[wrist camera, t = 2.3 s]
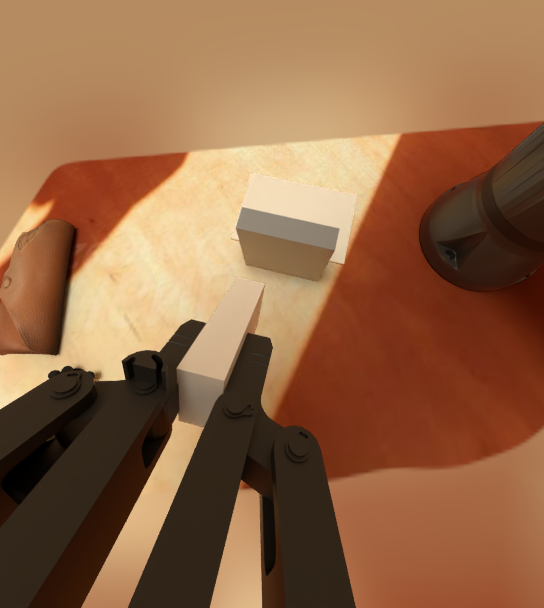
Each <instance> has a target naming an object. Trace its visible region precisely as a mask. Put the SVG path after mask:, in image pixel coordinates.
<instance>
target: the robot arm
mask: <svg viewBox="0 0 544 608" xmlns="http://www.w3.org/2000/svg"><path fill="white" fill-rule="evenodd" d="M420 243H421V247H422V250H423V252H424V254H425V256H426V258H427V260H428V261H429V263H430V264H431V266H432V267H433V268H434V269H435V270H436V271H437V272H438V273H439V274H440V275H441V276H442V277H444V278H445V279H446V280H448V281H449V282H451V283H453V284H455V285H457V286H459V287H462V288H465V289H468V290H473V291H494V290H498V289H502V288H505V287H508V286H511V285H514V284H517V283H519V282H521V281H523V280H525V279H526V278H528V277H529V276H531V275H532V274H533V273H534V272H535V271H536V270H537V269H538V268H539V267H541V266H542V265H544V123H543V124H542V125H541V126H539V127H538V128H537V129H536V130H535V131H534V132H533V133H531V134H530V135H529V136H528V137H527V138H526V139H525V140H523V141H522V142H521V143H520V144H519V145H518V146H517V147H515V148H514V149H513V150H512V151H511V152H510V153H509V154H507V155H506V156H505V157H504V158H503V159H502V160H501V161H499V162H498V163H497V164H496V165H495V166H494V167H492V168H491V169H490V170H488V171H486V172H484V173H482V174H480V175H478V176H476V177H474V178H473V179H471V180H470V181H468V182H465V183H462V184H459V185H457V186H455V187H452V188H451V189H449V190H447V191H446V192H445V193H443V194H442V195H441V196H440V197H439V198H438V199H437V200H436V201H434V202H433V203H432V204H431V205H430V206H429V208H428V209H427V210H426V212H425V214H424V215H423V218H422V220H421V224H420ZM264 287H265V283H262V282H258V281H254V280H249V279H245V278H241V277H237V278H236V279H235V281H234V282H233V284H232V285H231V287H230V288H229V290H228V291H227V293H226V294H225V296H224V297H223V299H222V301H221V302H220V304H219V305H218V307H217V308H216V310H215V311H214V313H213V314H212V316H211V317H210V319H209V320H208V322H207V323H204V322H200V321H196V320H192V319H191V320H189V321H188V322H186V323H184V324H182V325H181V326H180V327H179V329H178V330H177V331H176V332H175V334H174V335H173V336H172V337H171V339H170V340H169V342H167V344H166V345H165V346H164V347H163V349H162V350H161V351H160V352H157V351H150V350H146V351H139V352H136V353H134V354H131V355H129V356H128V357H126V358H125V359H124V360H122V364H123V369H124V374H125V379H126V380H120V381H94V378H93V376H92V375H91V374H90V373H88V372H85V371H82V370H73V371H68V372H64V373H60V374H58V375H56V376H54V377H52V378H50V379H49V380H47V381H45V382H44V383H42V384H40V385H39V386H37V387H36V388H34V389H32V390H31V391H29V392H28V393H26V394H24V395H23V396H21V397H20V398H18V399H16V400H15V401H13V402H12V403H10V404H8V405H7V406H5V407H3V408H2V409H0V608H81V607H82V605H83V603H84V601H85V599H86V597H87V595H88V593H89V591H90V589H91V588H92V585H93V584H94V582H95V580H96V578H97V576H98V574H99V572H100V570H101V568H102V566H103V565H104V563H105V561H106V559H107V557H108V555H109V553H110V551H111V549H112V547H113V545H114V544H115V542H116V540H117V538H118V536H119V534H120V532H121V530H122V528H123V526H124V524H125V522H126V521H127V519H128V517H129V515H130V513H131V511H132V509H133V507H134V505H135V503H136V501H137V500H138V498H139V496H140V494H141V492H142V490H143V488H144V486H145V484H146V482H147V480H148V478H149V477H150V475H151V473H152V471H153V469H154V467H155V465H156V463H157V461H158V459H159V457H160V455H161V454H162V452H163V450H164V448H165V446H166V444H167V442H168V440H169V438H170V436H171V433H172V423H173V421H174V420H175V418H176V416H177V414H178V415H179V421H182V422H186V423H189V424H193V425H197V426H201V427H204V429H203V431H202V434H201V436H200V439H199V441H198V443H197V446H196V448H195V450H194V453H193V455H192V457H191V460H190V462H189V465H188V467H187V469H186V472H185V474H184V476H183V479H182V481H181V483H180V486H179V488H178V490H177V493H176V495H175V498H174V500H173V502H172V505H171V507H170V510H169V512H168V514H167V517H166V519H165V521H164V524H163V526H162V528H161V531H160V533H159V535H158V538H157V540H156V543H155V545H154V547H153V550H152V552H151V554H150V557H149V559H148V562H147V564H146V566H145V569H144V571H143V573H142V576H141V578H140V580H139V583H138V585H137V587H136V590H135V592H134V594H133V597H132V599H131V602H130V604H129V606H128V608H210V604H211V600H212V595H213V591H214V587H215V583H216V579H217V575H218V571H219V567H220V563H221V558H222V555H223V550H224V546H225V542H226V538H227V534H228V530H229V526H230V522H231V517H232V514H233V510H234V505H235V501H236V497H237V493H238V489H239V485H240V481H241V480H243V481H244V482H245V483H246V484H248V485H249V486H250V487H252V488H253V489H254V490H256V491H257V492H258V493H259V494H260V530H261V571H262V608H356V606H355V602H354V597H353V593H352V589H351V584H350V579H349V576H348V571H347V566H346V562H345V557H344V553H343V548H342V544H341V540H340V535H339V531H338V526H337V521H336V517H335V512H334V508H333V503H332V499H331V494H330V490H329V485H328V481H327V476H326V472H325V467H324V463H323V459H322V454H321V450H320V447H319V444H318V442H317V440H316V438H315V437H314V436H313V435H312V434H311V433H310V432H309V431H307V430H306V429H304V428H303V427H298V426H289V427H285V428H283V427H282V426H280V425H279V424H277V423H275V422H274V421H273V420H271V419H270V418H269V417H268V416H267V415H266V413H265V412H264V410H263V408H262V405H261V394H262V390H263V386H264V382H265V378H266V374H267V369H268V365H269V361H270V357H271V353H272V349H273V346H272V343H271V340H270V338H267V337H263V336H259V335H255V334H254V333H255V330H256V327H257V325H258V319H259V314H260V308H261V303H262V298H263V292H264Z"/></svg>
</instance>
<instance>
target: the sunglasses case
mask: <svg viewBox="0 0 544 608" xmlns="http://www.w3.org/2000/svg"><path fill="white" fill-rule="evenodd" d="M73 234H74V226H73V225H71V224H70V223H68V222H66V221H63V220H59V219H50V220H47V221H45V222H44V223H43V224H42V225H41V226H40V227H38V228H35V229H33V230H31V231H29V232H27V233H26V232H22V234H21V235H20V236H19V238H18V240H17V242H16V244H15V248H14V250H13V254H12V257H11V261H10V265H9V268H8V269H7V271H6V272H5V274H4V277H3V280H2V285H1V289H0V298H1V300H2V301H1V306H0V355H6V354H50V355H56V353H57V351H58V347H59V338H60V325H61V315H62V301H63V298H64V291H65V284H66V276H67V269H68V264H69V258H70V251H71V246H72V240H73Z"/></svg>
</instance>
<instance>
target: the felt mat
mask: <svg viewBox="0 0 544 608" xmlns="http://www.w3.org/2000/svg"><path fill="white" fill-rule="evenodd" d="M356 200H357V195H356V194H351V193H347V192H342V191H337V190H333V189H328V188H323V187H318V186H314V185H309V184H304V183H300V182H295V181H290V180H286V179H281V178H276V177H271V176H267V175H262V174H257V173H253V172H251V175H250V178H249V182H248V185H247V188H246V192H245V195H244V198H243V201H242V205H241V208H240V211H239V214H238V218H237V221H236V224H235V227H234V231H233V234H232V237H231V239H233V240H237V241H239V238H238V234H237V231H236V225H237V222H238V219H239V216H240V212H241V209H242V207H245V208H249V209H254V210H258V211H263V212H267V213H272V214H276V215H281V216H285V217H290V218H294V219H299V220H303V221H308V222H312V223H317V224H322V225H326V226H331V227H335V228H340V229H339V234H338V239H337V243H336V248H335V251H334V253H333V255H332V257H331V258H330V260H329V262H333V263H338V264H342V265H344V261H345V256H346V251H347V246H348V241H349V236H350V231H351V226H352V221H353V216H354V211H355V206H356Z"/></svg>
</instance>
